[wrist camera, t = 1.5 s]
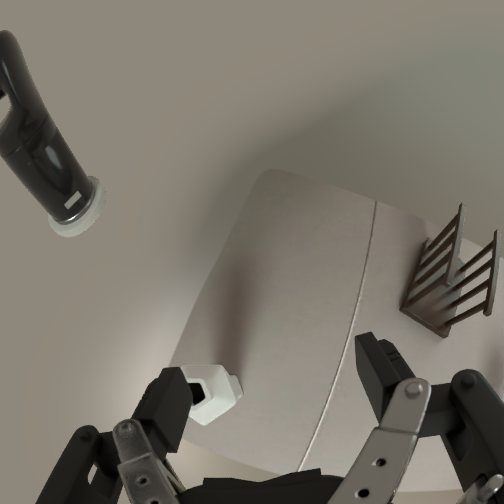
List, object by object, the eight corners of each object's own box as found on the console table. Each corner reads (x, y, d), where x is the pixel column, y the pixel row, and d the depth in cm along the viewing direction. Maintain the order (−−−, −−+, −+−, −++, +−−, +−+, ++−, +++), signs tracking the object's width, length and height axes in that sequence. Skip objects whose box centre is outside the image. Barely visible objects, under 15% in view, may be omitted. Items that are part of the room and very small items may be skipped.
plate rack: (443, 338, 29) (493, 316, 19) (399, 310, 31) (442, 279, 22) (463, 268, 33) (503, 233, 24) (424, 241, 35) (459, 200, 26)
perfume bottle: (228, 361, 29) (198, 340, 16) (253, 391, 28) (244, 397, 14) (196, 385, 28) (141, 381, 15) (220, 415, 27) (183, 439, 13)
